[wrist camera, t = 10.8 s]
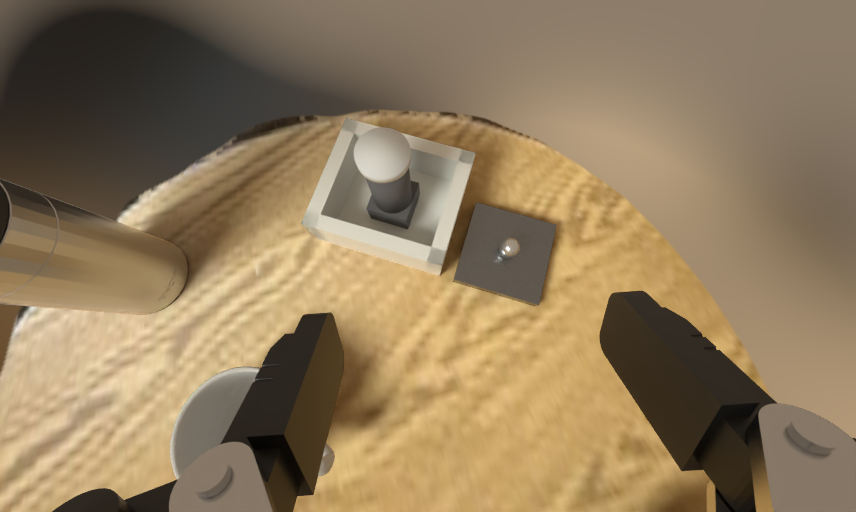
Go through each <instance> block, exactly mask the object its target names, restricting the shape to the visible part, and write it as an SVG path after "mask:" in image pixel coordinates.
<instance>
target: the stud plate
mask: <svg viewBox="0 0 856 512" xmlns="http://www.w3.org/2000/svg"><path fill="white" fill-rule="evenodd" d="M556 226H557V225H555V224H552V223H548V222H545V221H541V220H538V219H534V218H530V217H527V216H523V215H520V214H516V213H513V212H509V211H505V210H502V209H498V208H495V207H491V206H488V205H484V204H480V203H477V202H476V204H475V207H474V211H473V214H472V218H471V221H470V224H469V228H468V231H467V235H466V238H465V242H464V245H463V249H462V252H461V255H460V259H459V262H458V266H457V269H456V273H455V276H454V280H453V282H456V283H459V284H462V285H466V286H469V287H472V288H476V289H479V290H482V291H486V292H489V293H492V294H496V295H499V296H502V297H506V298H509V299H512V300H516V301H519V302H522V303H526V304H529V305H532V306H537V305H539V303H540V298H541V294H542V289H543V285H544V280H545V276H546V271H547V267H548V262H549V258H550V253H551V249H552V244H553V239H554V235H555V230H556Z"/></svg>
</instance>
